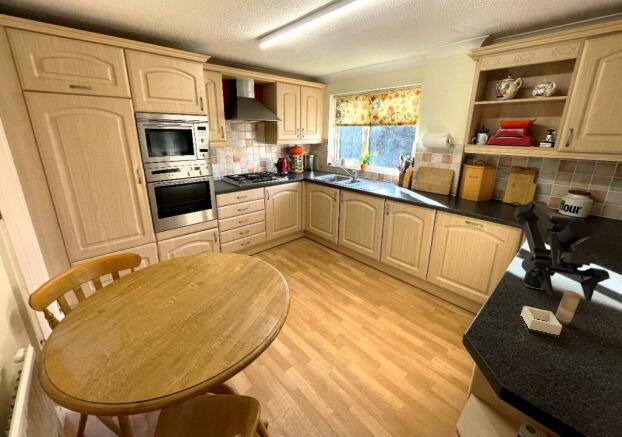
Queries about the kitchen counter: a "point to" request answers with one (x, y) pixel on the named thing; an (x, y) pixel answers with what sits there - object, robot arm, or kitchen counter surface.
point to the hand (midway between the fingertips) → (569, 298)
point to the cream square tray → (549, 326)
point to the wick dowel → (567, 306)
